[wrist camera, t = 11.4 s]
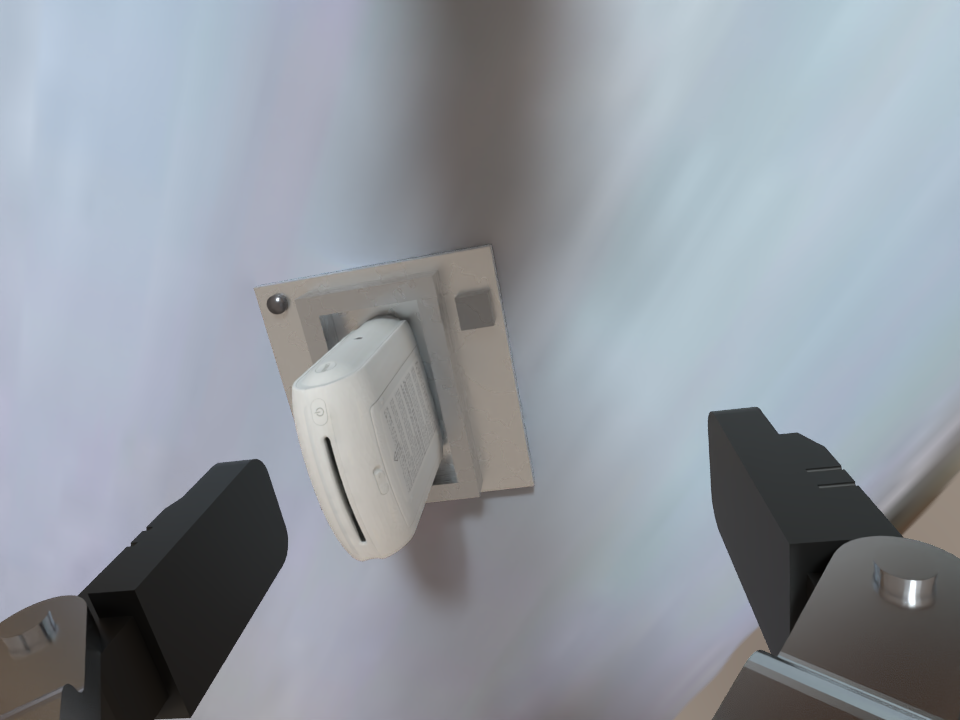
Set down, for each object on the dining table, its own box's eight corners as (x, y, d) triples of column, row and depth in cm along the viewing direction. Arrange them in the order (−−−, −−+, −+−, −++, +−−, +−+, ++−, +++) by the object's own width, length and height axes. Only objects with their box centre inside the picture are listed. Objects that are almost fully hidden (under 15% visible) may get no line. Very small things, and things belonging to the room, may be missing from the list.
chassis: (260, 284, 39) (238, 295, 37) (491, 243, 37) (486, 252, 34) (326, 502, 44) (311, 526, 41) (534, 478, 42) (533, 502, 39)
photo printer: (345, 320, 39) (258, 395, 27) (411, 306, 38) (349, 377, 26) (391, 465, 42) (330, 589, 30) (452, 454, 41) (414, 577, 29)
